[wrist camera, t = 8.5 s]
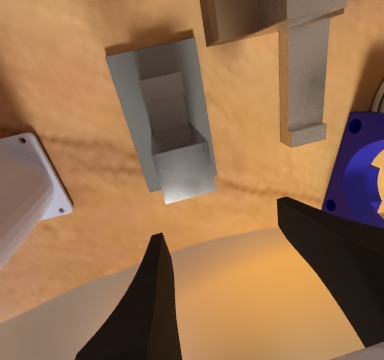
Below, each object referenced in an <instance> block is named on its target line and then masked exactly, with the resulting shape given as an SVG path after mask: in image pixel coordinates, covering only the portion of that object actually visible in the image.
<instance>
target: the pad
mask: <svg viewBox="0 0 384 360" xmlns="http://www.w3.org/2000/svg"><path fill="white" fill-rule="evenodd" d="M105 58H106V61H107V64H108V67H109V70H110V73H111V76H112V79H113V82H114V85H115V88H116V91H117V94H118V97H119V100H120V103H121V106H122V109H123V112H124V115H125V118H126V121H127V124H128V127H129V130H130V134H131V137H132V140H133V143H134V146H135V149H136V152H137V155H138V158H139V161H140V164H141V167H142V170H143V173H144V176H145V179H146V182H147V185H148V188H149V191H150V192H153V191H157V190H161V185H160V182H159V179H158V175H157V172H156V169H155V165H154V162H153V159H152V155H151V130H153V128H152V125H151V121H150V118H149V114H148V110H147V107H146V103H144V100H143V96H142V93H141V89H140V86H139V82H138V81H142V80H147V79H151V78H156V77H160V76H165V75H169V74H174V73H178V72H181V73H182V78H183V84H184V89H185V94H183V97H184V102H185V107H186V112H187V117H188V122H190V123H191V124H192V125H193V126H194V127H195V128H196V129H197V130H198V131H199V132H200V133H201V134H202V135H203V137H204V138H205V139H206V140H207V141H208V144H209V150H210V156H211V161H212V167H213V173H214V176H215V175H217V170H216V164H215V158H214V152H213V146H212V139H211V133H210V127H209V121H208V115H207V108H206V102H205V96H204V90H203V84H202V78H201V71H200V65H199V59H198V53H197V47H196V40H195V38H190V39H186V40H181V41H176V42H172V43H167V44H162V45H157V46H153V47H148V48H143V49H139V50H134V51H129V52H124V53H120V54H115V55H110V56H106V57H105Z"/></svg>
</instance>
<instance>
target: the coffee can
mask: <svg viewBox="0 0 384 360" xmlns="http://www.w3.org/2000/svg"><path fill="white" fill-rule="evenodd" d="M371 112H379V113H384V81H383V82H382V84H381V86H380V88H379V90H378V92H377V94H376V96H375V99H374V101H373V105H372V109H371Z"/></svg>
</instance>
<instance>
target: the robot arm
mask: <svg viewBox="0 0 384 360" xmlns="http://www.w3.org/2000/svg"><path fill="white" fill-rule="evenodd" d="M21 138H24V139H25V141H26V142H25V143H24V142H22V141H21ZM60 208H63V209H64V210H65V211H62V210H61V209H60ZM73 208H74V207H73V205H72V203H71V201H70V199H69V197H68V195H67V193H66V192H65V190H64V188H63V186H62V184H61V182H60V180H59V178H58V176H57V175H56V173H55V171H54V169H53V167H52V165H51V163H50V161H49V160H48V158H47V156H46V154H45V152H44V150H43V148H42V146H41V145H40V143H39V141H38V139H37V137H36V136H35V135H34V134H33V133H30V132H27V133H23V134H18V135H14V136H10V137H5V138H1V139H0V271H1V269H2V268H3V267H4V266H5V264H6V263H7V262H8V260H9V259H10V258H11V257H12V255H13V254H14V253H15V251H16V250H17V249H18V247H19V246H20V245H21V244H22V242H23V241H24V240H25V238H26V237H27V236H28V235H29V233H30V232H31V231H32V229H33V228H34V227H35V226H36V224H37V223H38V222H39V221H41V220H45V219H49V218H53V217H57V216H60V215H64V214H68V213H71V212H72V211H73ZM277 211H278V226H279V228H280V229H281V230H282V232H283V234H284V235H285V236H286V238H287V240H288V241H289V242H290V243H291V244H292V245H293V247H294V248H295V249H296V250H297V251H298V252H299V254H300V255H301V256H302V257H303V258H304V259H305V260H306V261H307V263H308V264H309V265H310V266H311V267H312V268H313V270H314V271H315V272H316V273H317V275H318V276H319V277H320V278H321V280H322V282H323V283H324V284H325V286H326V287H327V289H328V290H329V291H330V293H331V294H332V296H333V297H334V299H335V300H336V301H337V303H338V305H339V306H340V308H341V309H342V311H343V312H344V314H345V316H346V317H347V319H348V320H349V322H350V323H351V325H352V326H353V328H354V330H355V331H356V333H357V335H358V336H359V338H360V339H361V341H362V343H363V345H364V346H365V348H364V349H361V350H358V351H355V352H352V353H349V354H346V355H343V356H340V357H337V358H334V359H331V360H384V228H381V227H377V226H372V225H367V224H363V223H359V222H356V221H352V220H348V219H345V218H342V217H339V216H336V215H333V214H330V213H327V212H324V211H322V210H319V209H317V208H314V207H312V206H309V205H307V204H304V203H302V202H299V201H297V200H294V199H292V198H289V197H283V198H280V199H277ZM75 360H182V355H181V348H180V341H179V334H178V328H177V320H176V309H175V287H174V272H173V266H172V260H171V256H170V253H169V250H168V247H167V245H166V242H165V239H164V236H163V233H159V234H155V235H152V236H151V238H150V242H149V244H148V247H147V250H146V253H145V255H144V257H143V260H142V262H141V265H140V267H139V269H138V271H137V273H136V275H135V277H134V279H133V281H132V283H131V284H130V286H129V288H128V290H127V291H126V293H125V295H124V296H123V298H122V299H121V301H120V302H119V304H118V305H117V307H116V308H115V310H114V311H113V312H112V314H111V315H110V316H109V318H108V319H107V320H106V322H105V323H104V324H103V325H102V326H101V328H100V329H99V330H98V331H97V332H96V334H95V335H94V336H93V337H92V338H91V339H90V340H89V341H88V342H87V344H86V345H85V346H84V347H83V348H82V349H81V350H80V351H79V352H78V353H77V355H76V358H75Z"/></svg>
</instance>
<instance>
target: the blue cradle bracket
mask: <svg viewBox="0 0 384 360" xmlns="http://www.w3.org/2000/svg"><path fill="white" fill-rule="evenodd" d="M383 149H384V113H379V112H371V111H365V112H350V115H349V119H348V122H347V125H346V129H345V132H344V136H343V139H342V142H341V146H340V149H339V153H338V156H337V159H336V163H335V166H334V170H333V173H332V176H331V180H330V183H329V187H328V190H327V193H326V197H325V200H324V204H323V207H322V211H324V212H327V213H330V214H333V215H336V216H339V217H342V218H345V219H348V220H352V221H356V222H359V223H363V224H367V225H372V226H377V227H381V228H384V219H383V218H382V217H381V216H380V215H379V214H378V213H377V211H378V209H379V206H380V204H381V202H382V200H381V198H380V195H379V192H378V185H377V179H378V173H379V170H380V168H378V167H375V166H373V165H371V163H372V161H373V160H374V158H375V157H376V156H377V155H378V154H379V153H380V152H381V151H382V150H383Z"/></svg>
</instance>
